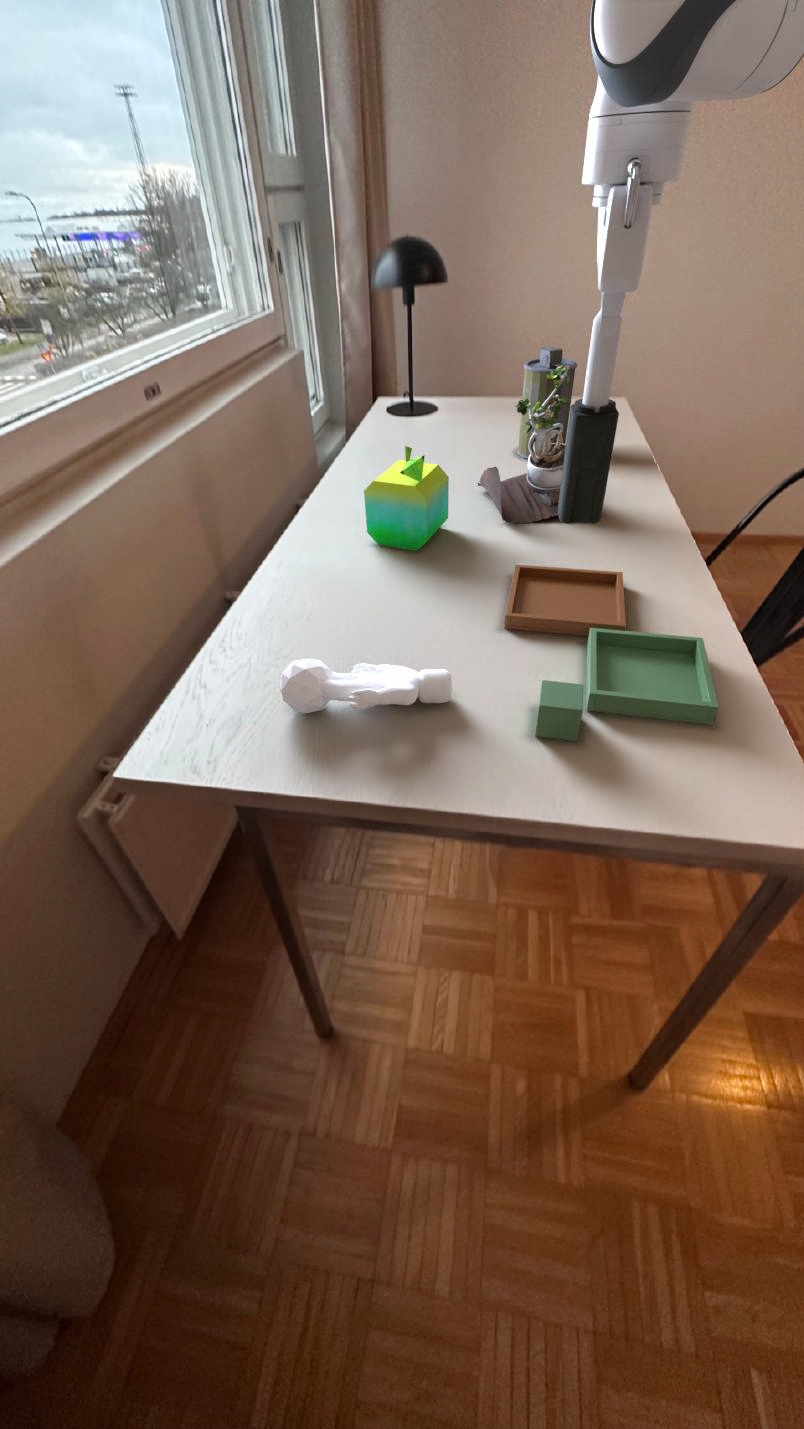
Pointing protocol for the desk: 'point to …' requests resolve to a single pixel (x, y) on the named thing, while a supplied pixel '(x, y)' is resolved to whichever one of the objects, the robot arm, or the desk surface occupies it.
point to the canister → (545, 392)
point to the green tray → (649, 676)
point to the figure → (361, 685)
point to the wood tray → (565, 600)
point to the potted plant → (533, 465)
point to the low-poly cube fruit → (407, 503)
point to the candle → (590, 435)
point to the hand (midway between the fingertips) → (607, 330)
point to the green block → (559, 710)
